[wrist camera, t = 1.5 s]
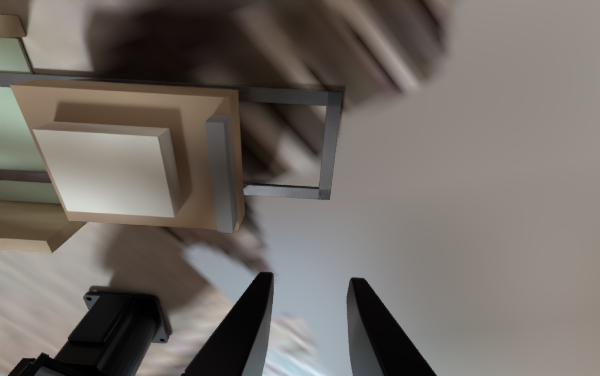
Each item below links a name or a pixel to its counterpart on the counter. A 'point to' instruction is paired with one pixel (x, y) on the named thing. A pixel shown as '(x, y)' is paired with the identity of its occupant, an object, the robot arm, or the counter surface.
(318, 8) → the counter surface
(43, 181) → the rails
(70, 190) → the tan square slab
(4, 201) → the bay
